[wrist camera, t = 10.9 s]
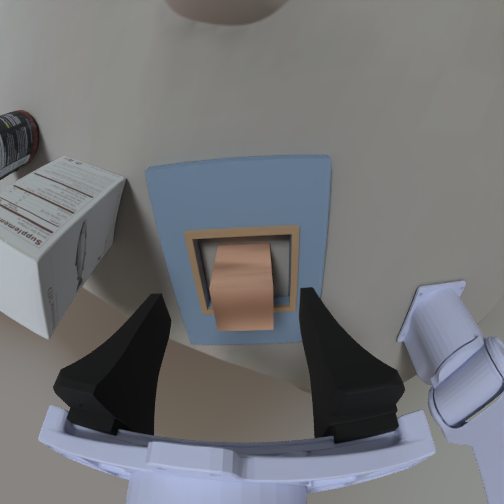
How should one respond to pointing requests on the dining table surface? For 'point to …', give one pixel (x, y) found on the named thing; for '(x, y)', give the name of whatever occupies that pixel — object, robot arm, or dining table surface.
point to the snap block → (242, 287)
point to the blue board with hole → (241, 230)
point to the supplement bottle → (16, 141)
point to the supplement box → (54, 238)
